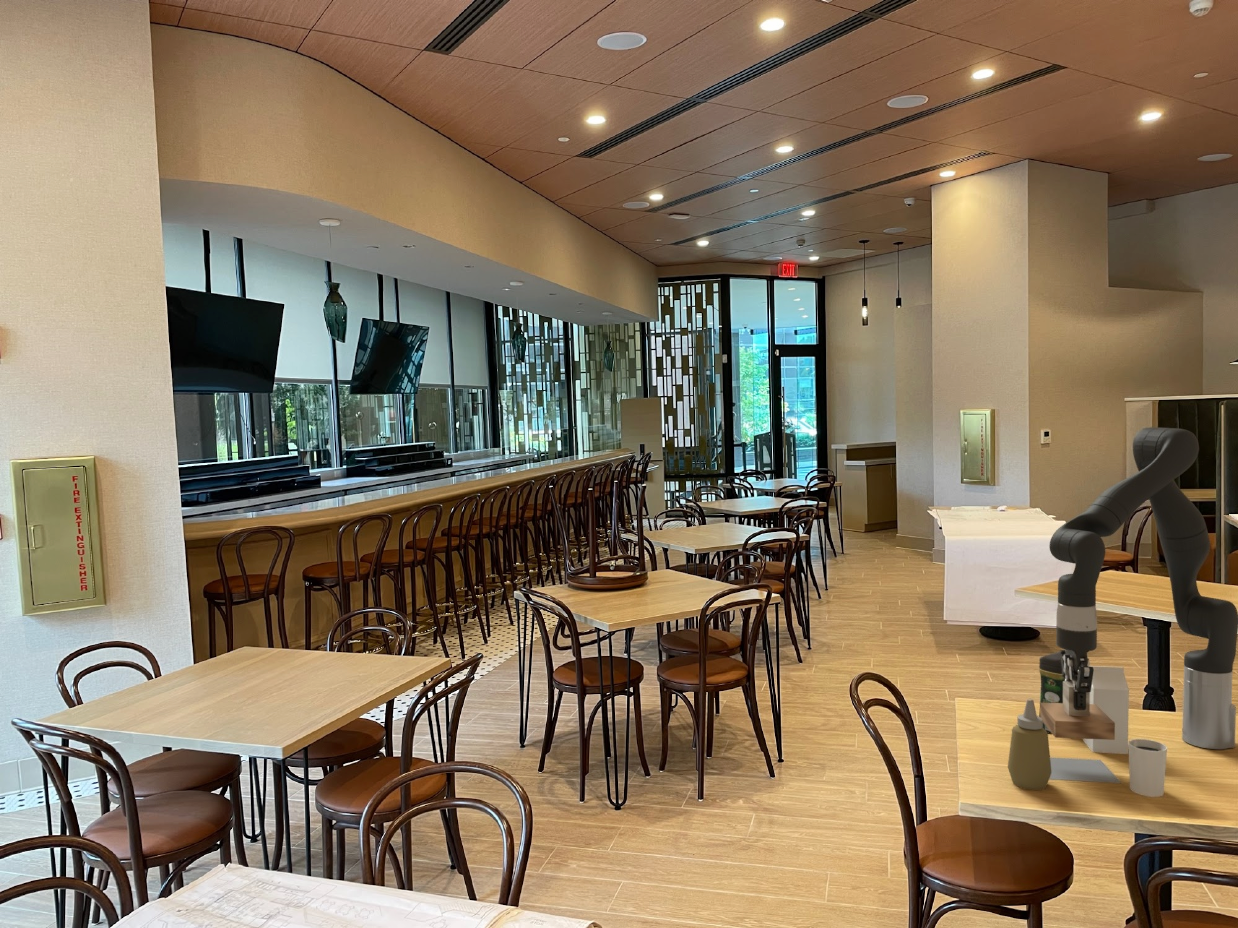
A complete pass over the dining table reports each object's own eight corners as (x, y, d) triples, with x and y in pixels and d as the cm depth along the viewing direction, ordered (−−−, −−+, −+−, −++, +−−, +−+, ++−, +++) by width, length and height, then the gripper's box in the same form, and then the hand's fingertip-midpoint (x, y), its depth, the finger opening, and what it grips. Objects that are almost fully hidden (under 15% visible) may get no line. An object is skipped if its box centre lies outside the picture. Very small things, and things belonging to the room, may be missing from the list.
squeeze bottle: (1001, 779, 185) (1001, 693, 184) (1040, 778, 185) (1041, 693, 184) (1017, 795, 177) (1018, 706, 176) (1058, 795, 177) (1059, 706, 176)
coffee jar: (1054, 721, 218) (1055, 646, 217) (1086, 730, 212) (1088, 653, 211) (1032, 729, 213) (1033, 652, 212) (1064, 739, 206) (1065, 660, 205)
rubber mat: (1100, 763, 192) (1100, 759, 192) (1121, 786, 180) (1121, 782, 180) (1031, 759, 195) (1031, 756, 195) (1047, 782, 183) (1047, 778, 183)
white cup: (1152, 786, 180) (1153, 738, 180) (1174, 801, 173) (1175, 750, 173) (1120, 787, 180) (1121, 738, 179) (1140, 801, 173) (1141, 751, 173)
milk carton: (1127, 757, 195) (1129, 672, 194) (1092, 755, 197) (1094, 670, 195) (1116, 745, 202) (1118, 662, 201) (1082, 743, 204) (1084, 661, 202)
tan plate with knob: (1095, 720, 191) (1095, 676, 191) (1114, 739, 180) (1115, 693, 180) (1039, 718, 193) (1039, 675, 193) (1055, 737, 182) (1055, 692, 182)
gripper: (1108, 634, 178) (1107, 718, 179) (1084, 617, 192) (1084, 695, 193) (1067, 633, 179) (1067, 717, 180) (1047, 616, 193) (1046, 694, 194)
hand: (1076, 705), depth 187 cm, fingers closed on tan plate with knob, 4 cm apart
